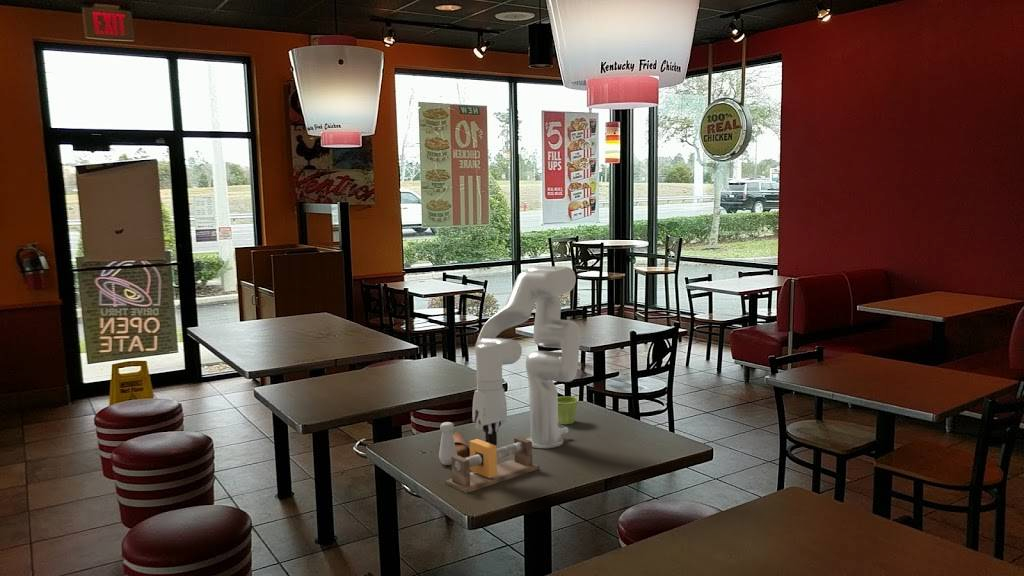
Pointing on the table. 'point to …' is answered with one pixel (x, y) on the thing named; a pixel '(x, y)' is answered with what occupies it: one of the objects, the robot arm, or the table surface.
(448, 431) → the salt shaker
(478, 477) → the pipe stand
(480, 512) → the table surface
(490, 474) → the collar
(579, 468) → the table surface
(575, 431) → the table surface
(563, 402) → the plant pot
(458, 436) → the sunglasses case
